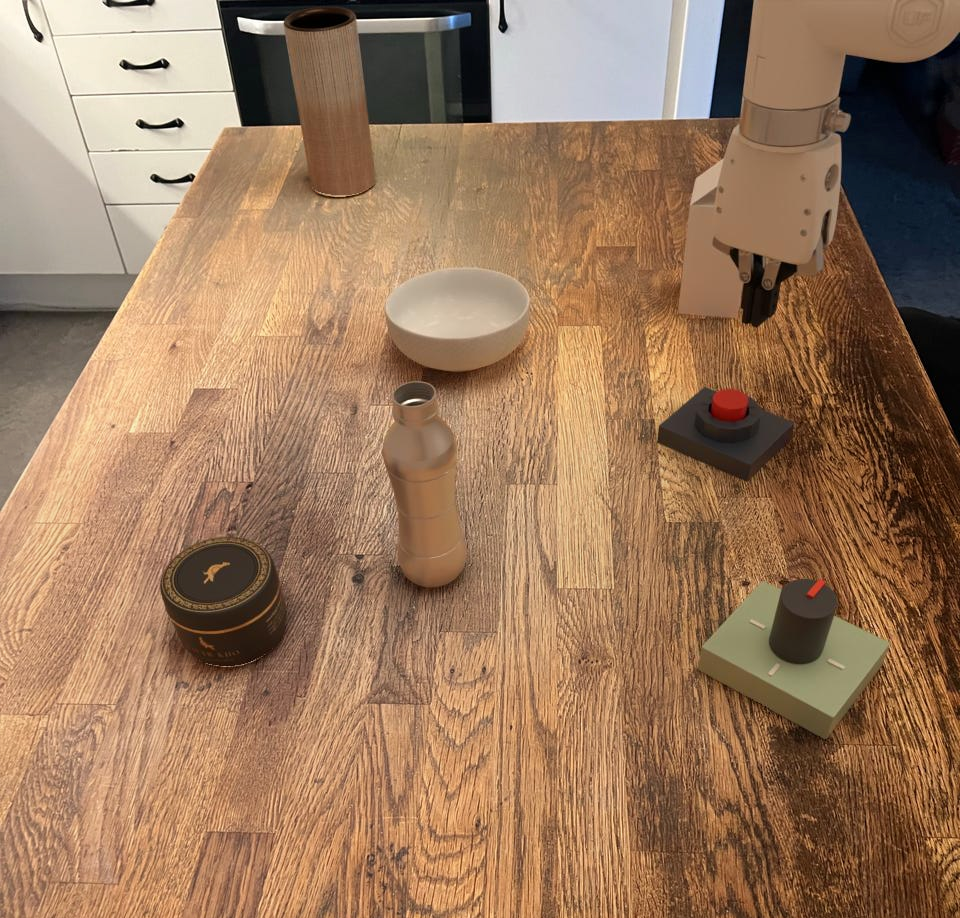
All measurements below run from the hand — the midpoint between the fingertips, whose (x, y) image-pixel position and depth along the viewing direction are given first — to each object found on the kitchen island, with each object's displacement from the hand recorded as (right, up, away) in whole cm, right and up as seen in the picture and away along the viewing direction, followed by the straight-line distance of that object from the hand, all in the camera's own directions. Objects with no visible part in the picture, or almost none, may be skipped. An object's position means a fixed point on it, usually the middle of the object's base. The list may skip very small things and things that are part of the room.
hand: (756, 318), depth 95 cm
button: (-1, -7, +8) cm, 11 cm away
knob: (0, -31, -13) cm, 34 cm away
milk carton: (+2, +9, +28) cm, 30 cm away
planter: (-48, +39, +58) cm, 85 cm away
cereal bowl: (-29, +4, +25) cm, 38 cm away
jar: (-49, -30, -5) cm, 58 cm away
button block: (-1, -10, +11) cm, 14 cm away
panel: (0, -33, -11) cm, 35 cm away
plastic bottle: (-31, -25, -1) cm, 40 cm away
